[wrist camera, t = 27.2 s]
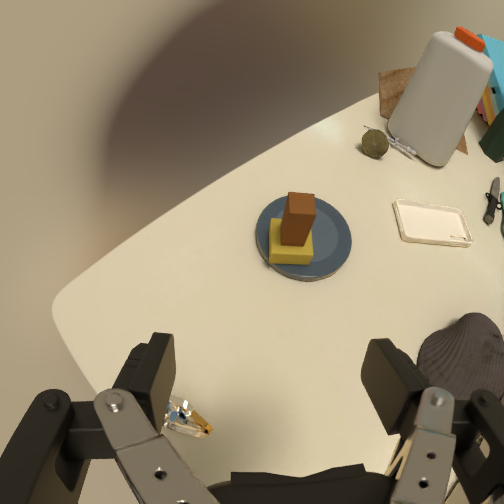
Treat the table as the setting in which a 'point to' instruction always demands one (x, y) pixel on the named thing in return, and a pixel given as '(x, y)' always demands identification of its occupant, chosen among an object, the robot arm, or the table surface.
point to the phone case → (431, 223)
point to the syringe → (395, 142)
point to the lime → (375, 143)
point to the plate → (323, 239)
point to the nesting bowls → (493, 80)
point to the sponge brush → (293, 231)
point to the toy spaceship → (502, 199)
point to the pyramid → (399, 94)
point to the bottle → (494, 138)
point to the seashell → (465, 357)
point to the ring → (183, 413)
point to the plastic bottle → (442, 95)
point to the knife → (493, 201)
